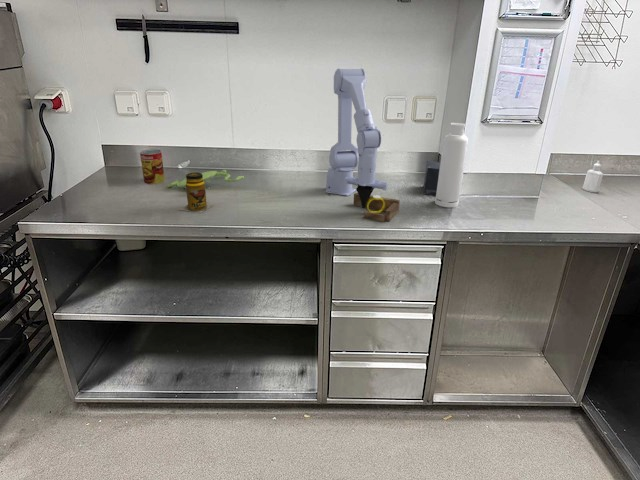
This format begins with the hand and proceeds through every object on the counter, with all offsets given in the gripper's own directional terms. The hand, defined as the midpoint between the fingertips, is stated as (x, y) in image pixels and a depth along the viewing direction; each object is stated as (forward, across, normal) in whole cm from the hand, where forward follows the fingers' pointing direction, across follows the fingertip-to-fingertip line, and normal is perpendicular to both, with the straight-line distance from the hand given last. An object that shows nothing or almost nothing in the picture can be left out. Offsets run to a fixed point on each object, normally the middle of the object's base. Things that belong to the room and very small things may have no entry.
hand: (364, 207), depth 148 cm
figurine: (+2, -63, -3) cm, 63 cm away
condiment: (+2, -52, -24) cm, 57 cm away
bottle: (+2, +23, +22) cm, 32 cm away
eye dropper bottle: (+2, +71, +65) cm, 96 cm away
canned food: (+2, -86, -8) cm, 86 cm away
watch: (+2, +4, +1) cm, 4 cm away
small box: (+2, +15, +34) cm, 37 cm away
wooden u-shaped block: (+2, +2, 0) cm, 3 cm away
